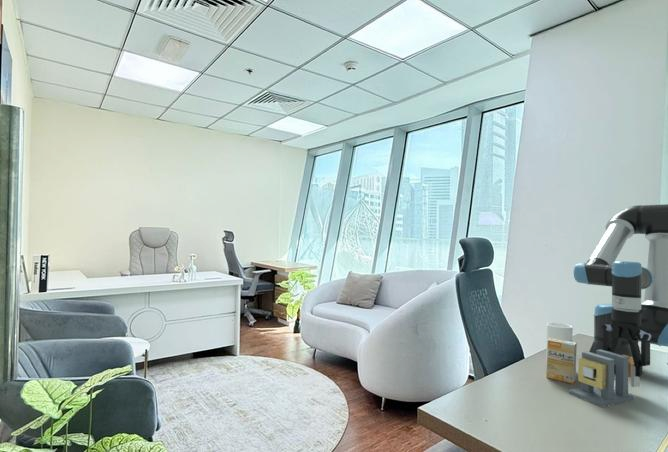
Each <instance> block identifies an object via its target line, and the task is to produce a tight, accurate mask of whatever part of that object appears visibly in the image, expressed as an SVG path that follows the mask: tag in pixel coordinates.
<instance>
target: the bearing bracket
mask: <svg viewBox="0 0 668 452" xmlns="http://www.w3.org/2000/svg"><path fill="white" fill-rule="evenodd" d="M581 358H586V359H589V360H593V361H596V362H599V363H602V364H606V365H607V379H606V389H603V390H602V389H599V388H596V387H593V386H591V385H588V384H585V383H583V382H580V383H581V386H580V387H577V388H573V389H569V390H568V394H570V395H572V396H575V397H577V398H580V399H582V400H584V401H588V402H590V403H593V404H594V403H595V404H594V405H596V406H599V405H600V406H599V407H601V406H602V407H601V408H604V406H606V407H609V406H608V405H610V406H613V405H612V404H614V405H618V404H622V403H627V402H632V401H635V396H634V395H631V394H629V378H628V365H629V357H626V356H623V355H619V354H616V353H612V352H608V351H605V350H596V354H594V353H591V352H589V351H581ZM614 361H616V380H615V381H614ZM617 403H618V404H617Z"/></svg>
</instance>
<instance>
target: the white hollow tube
mask: <svg viewBox="0 0 668 452" xmlns="http://www.w3.org/2000/svg"><path fill="white" fill-rule="evenodd" d="M573 331H574V330H573V325H570V324H566V323H562V322H561V323H559V322H547V323H546V344H545V345H546V350H545V351H546V355H545V357H546V358H545V367H546V368H547V344H548V339H549V338H553V339H558V340H564V341H569V342H573Z"/></svg>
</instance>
